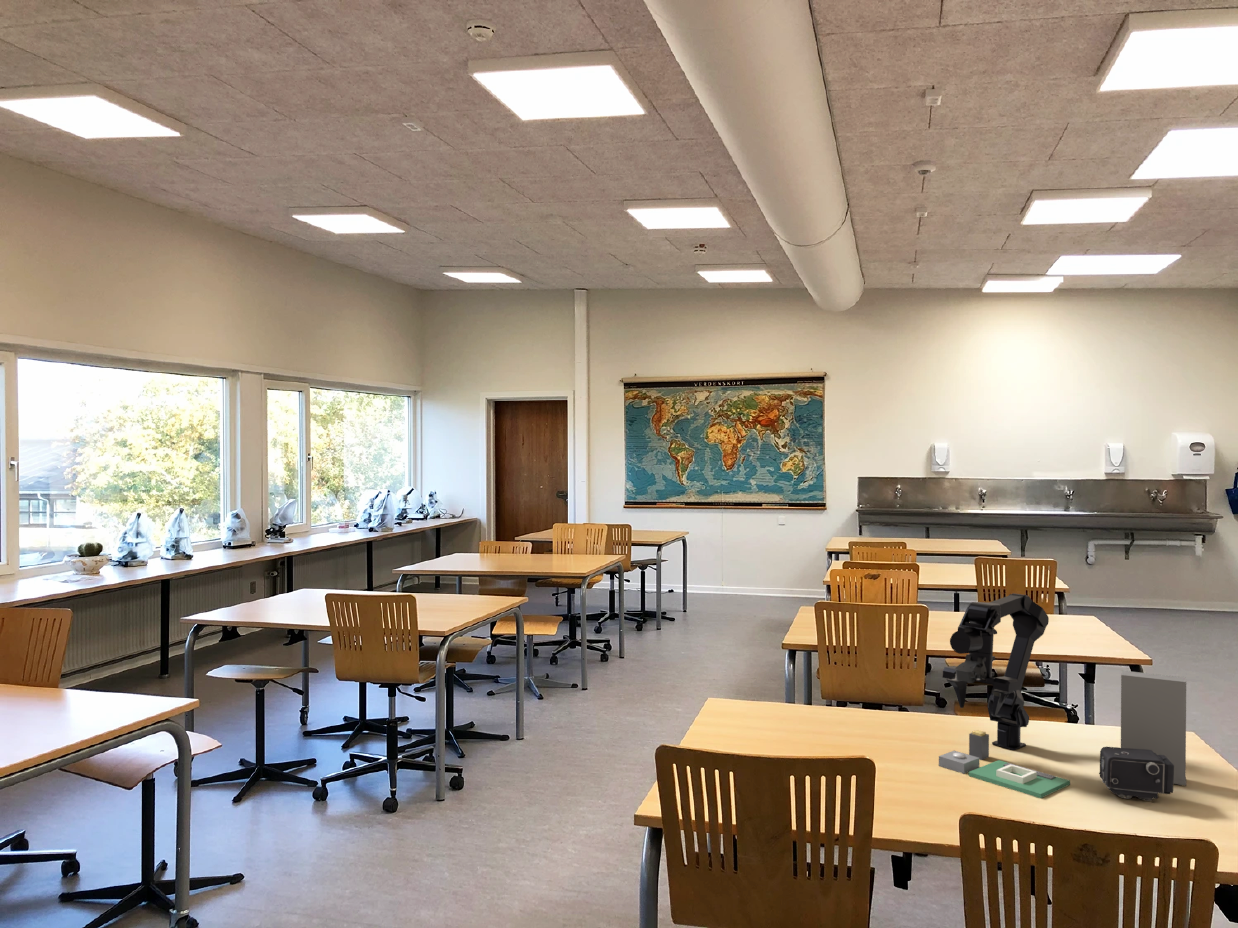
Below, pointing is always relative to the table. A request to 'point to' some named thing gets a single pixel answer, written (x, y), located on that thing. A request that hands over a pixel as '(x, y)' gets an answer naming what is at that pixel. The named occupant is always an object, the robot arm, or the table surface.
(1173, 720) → the upright grey panel
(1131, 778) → the camera
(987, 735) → the plug
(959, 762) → the grey push button
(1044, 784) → the board
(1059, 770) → the table surface
